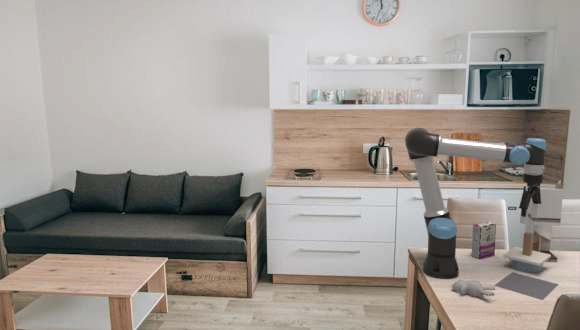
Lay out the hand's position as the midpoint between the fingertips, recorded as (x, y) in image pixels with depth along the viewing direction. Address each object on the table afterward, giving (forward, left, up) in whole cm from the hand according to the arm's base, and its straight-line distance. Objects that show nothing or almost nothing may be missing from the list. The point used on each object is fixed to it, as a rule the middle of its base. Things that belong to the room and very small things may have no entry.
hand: (528, 220), depth 192 cm
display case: (+16, +12, -23) cm, 30 cm away
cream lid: (0, 0, -17) cm, 17 cm away
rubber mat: (-12, -18, -23) cm, 31 cm away
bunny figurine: (-37, -21, -23) cm, 49 cm away
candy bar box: (-10, +18, -23) cm, 31 cm away
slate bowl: (0, 0, -23) cm, 23 cm away
